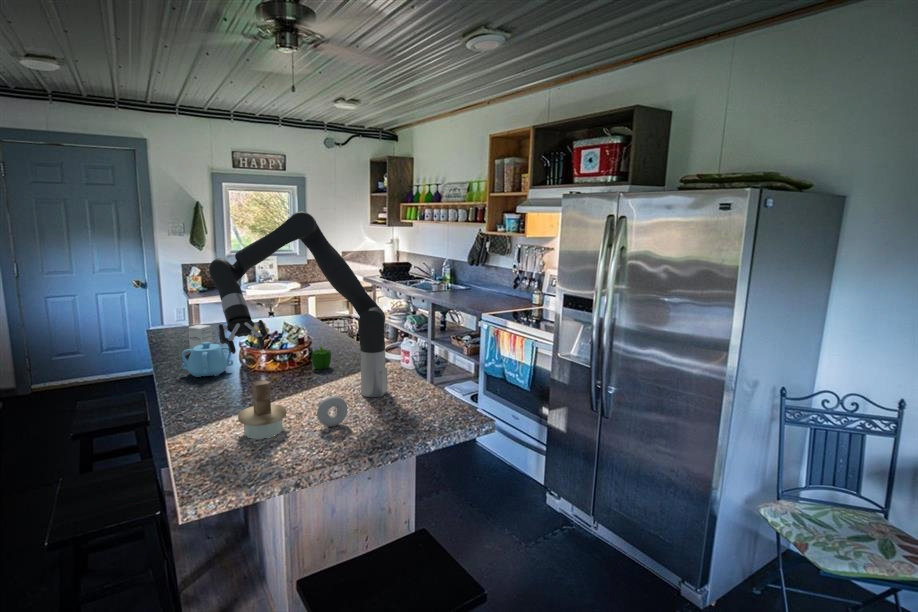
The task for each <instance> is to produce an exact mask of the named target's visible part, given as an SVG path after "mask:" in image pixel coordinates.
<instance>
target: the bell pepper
mask: <svg viewBox="0 0 918 612" xmlns="http://www.w3.org/2000/svg"><path fill="white" fill-rule="evenodd" d="M331 360H332V352H331V350H330V349H325V348H323V345H322V344H319V349H315V350H314V351H312V352H311V362H312V364H313V367H314V369H315V370H323V369H325V370H327V369H329V367H330V364H331Z"/></svg>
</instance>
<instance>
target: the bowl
mask: <svg viewBox="0 0 918 612" xmlns="http://www.w3.org/2000/svg"><path fill="white" fill-rule="evenodd" d="M243 431H244V433H243V435H245V436H244V437H246V436H247V437H246V438H248V439H249V438H254V439H253V440H264V439H263V438H267V439H270V438H269V437H271V438H273V437H272V436H274V435H277V434H278V435H280V434H281V433H282V432H283V419H282V420H280V421H277V422H275V423H271V424H267V425H258V426H252V425H245V424H243ZM281 431H282V432H281ZM280 432H281V433H280ZM279 433H280V434H279ZM278 435H277V436H278ZM274 437H275V436H274Z"/></svg>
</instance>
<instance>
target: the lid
mask: <svg viewBox="0 0 918 612" xmlns="http://www.w3.org/2000/svg"><path fill="white" fill-rule="evenodd" d="M251 385H252V400H253V401H252V402H253V406H249V407H246V408H245V409H242V410H241V411H239V413H238V415H237V420H238V422H239V423H240V424H242V425H244V424H245V425H252V426H258V425H267V424H271V423H275V422H277V421H280V420H282V421H283V420H284V418H286V416H287V408H286V407H285V406H283V405H280V404H275V403H274V404H272V403H271V384H270V382H269V381H268V380H267V379H262V380H256V381H252V382H251Z"/></svg>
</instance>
